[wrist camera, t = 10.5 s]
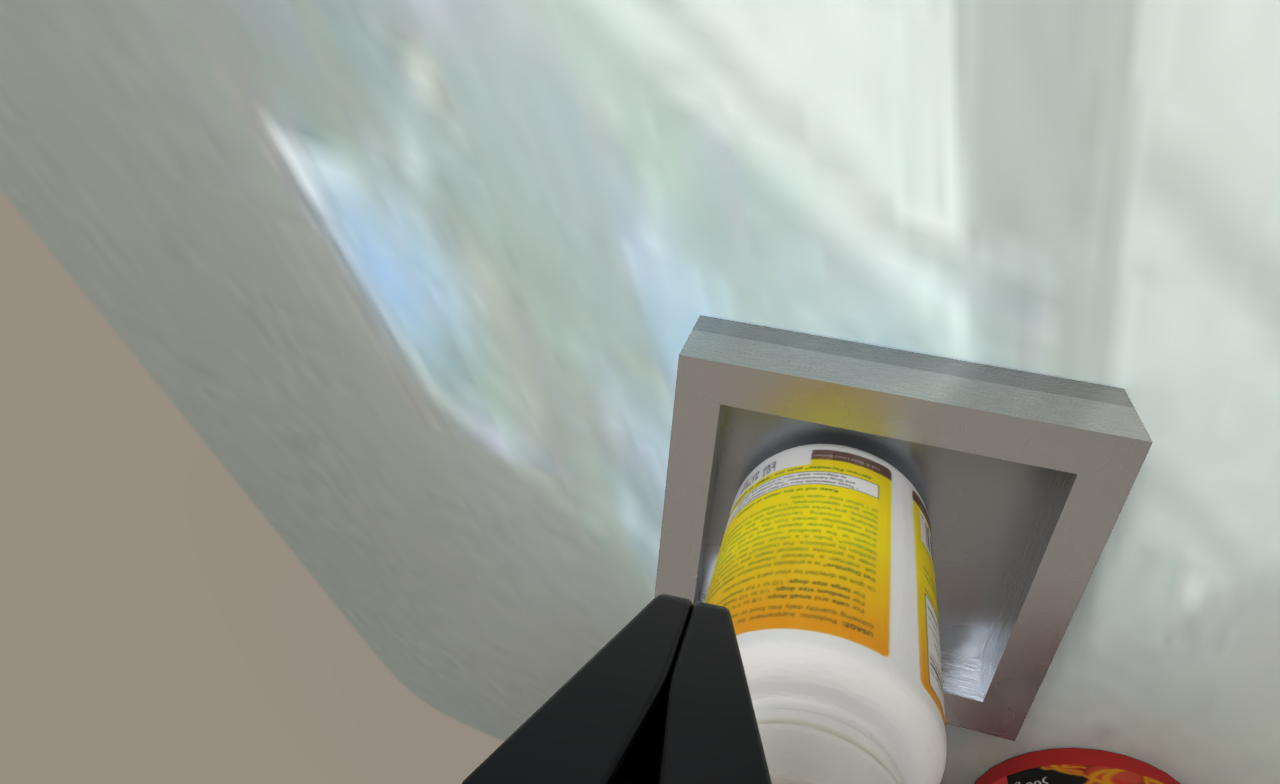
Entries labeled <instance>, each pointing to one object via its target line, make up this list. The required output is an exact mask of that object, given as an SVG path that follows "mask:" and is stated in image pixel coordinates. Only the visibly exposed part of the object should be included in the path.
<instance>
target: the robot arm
mask: <svg viewBox="0 0 1280 784" xmlns="http://www.w3.org/2000/svg"><path fill="white" fill-rule="evenodd" d="M462 784H772V782H771V777H770V773H769V769H768V765H767V761H766V757H765V753H764V749H763V745H762V740H761V736H760V732H759V728H758V724H757V720H756V716H755V712H754V708H753V703H752V699H751V695H750V691H749V687H748V683H747V679H746V675H745V671H744V666H743V662H742V658H741V654H740V650H739V646H738V642H737V638H736V633H735V629H734V625H733V621H732V617H731V613H730V611H729V610H728V609H727V608H726V607H723V606H719V605H714V604H709V603H705V602H697V603H695V604H694V606H693V603H692V601H691V600H689V599H686V598H681V597H676V596H672V595H667V594H660V595H658V596H657V597H656V598H654V599H653V600H652V601H651V602H650V603H649V604H648V605H647V606H646V607H645V608H644V609H643V610H642V611H641V612H640V613H639V614H638V615H637V616H636V617H634V618H633V619H632V620H631V621H630V622H629V623H628V624H627V625H626V626H625V627H624V628H623V629H622V630H621V631H620V632H619V633H618V634H617V635H616V636H615V637H614V638H613V639H611V640H610V641H609V642H608V643H607V644H606V645H605V646H604V647H603V648H602V649H601V650H600V651H599V652H598V653H597V654H596V655H595V656H594V657H593V658H592V659H591V660H589V661H588V662H587V663H586V664H585V665H584V666H583V667H582V668H581V669H580V670H579V671H578V672H577V673H576V674H575V675H574V676H573V677H572V678H571V679H570V680H569V681H568V682H566V683H565V684H564V685H563V686H562V687H561V688H560V689H559V690H558V691H557V692H556V693H555V694H554V695H553V696H552V697H551V698H550V699H549V700H548V701H547V702H546V703H544V704H543V705H542V706H541V707H540V708H539V709H538V710H537V711H536V712H535V713H534V714H533V715H532V716H531V717H530V718H529V719H528V720H527V721H526V722H525V723H524V724H522V725H521V726H520V727H519V728H518V729H517V730H516V731H515V732H514V733H513V734H512V735H511V736H510V737H509V738H508V739H507V740H506V741H505V742H504V743H503V744H502V745H501V746H500V747H498V748H497V749H496V750H495V751H494V752H493V753H492V754H491V755H490V756H489V757H488V758H487V759H486V760H485V761H484V762H483V763H482V764H481V765H480V766H479V767H477V768H476V769H475V771H473V772H472V773H471V774H470V775H469V776H468V777H467V778H466V779H465V780H464V781H463V782H462Z"/></svg>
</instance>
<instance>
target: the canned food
mask: <svg viewBox="0 0 1280 784" xmlns="http://www.w3.org/2000/svg"><path fill="white" fill-rule="evenodd" d="M975 784H1180V783H1179V782H1178V781H1176V780H1175V779H1174V778H1172V777H1171V776H1170V775H1168V774H1167V773H1165V772H1163V771H1161V770H1159V769H1157V768H1155V767H1153V766H1152V765H1150V764H1148V763H1145V762H1142V761H1140V760H1137V759H1134V758H1131V757H1128V756H1125V755H1121V754H1116V753H1111V752H1106V751H1101V750H1093V749H1080V748H1063V749H1048V750H1043V751H1037V752H1031V753H1027V754H1024V755H1021V756H1018V757H1015V758H1011V759H1008V760H1006V761H1004V762H1002V763H1001V764H999V765H997V766H995V767H993V768H991V769H990V770H989V771H987V772H986V773H985V774H984V775H983V776H981V777H980V778H979V779H978V780H977V781H976V783H975Z"/></svg>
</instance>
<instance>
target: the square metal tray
mask: <svg viewBox="0 0 1280 784" xmlns="http://www.w3.org/2000/svg"><path fill="white" fill-rule="evenodd" d="M809 444H836V445H843V446H848V447H852V448H856V449H859V450H862V451H865V452H868V453H870V454H873V455H875V456H877V457H879V458H881V459H883V460H884V461H886V462H887V463H889V464H890V465H892V466H893V467H895V468H896V469H897V470H898V471H900V472H901V473H902V474H903V475H904V476H905V477H906V478H907V479H908V480H909V481H910V482H911V483H912V485H913V486H914V487H915V489H916V490H917V492H918V493H919V495H920V496H921V498H922V500H923V502H924V504H925V507H926V509H927V512H928V515H929V519H930V525H931V533H932V543H933V555H934V569H935V582H936V596H937V609H938V624H939V637H940V653H941V666H942V681H943V696H944V710H945V723H948V724H952V725H956V726H960V727H964V728H967V729H971V730H975V731H979V732H983V733H986V734H990V735H994V736H998V737H1002V738H1005V739H1009V740H1013V741H1015V739H1016V737H1017V735H1018V732H1019V730H1020V728H1021V726H1022V724H1023V722H1024V720H1025V717H1026V715H1027V713H1028V711H1029V709H1030V707H1031V704H1032V702H1033V700H1034V698H1035V696H1036V694H1037V691H1038V689H1039V687H1040V685H1041V683H1042V681H1043V678H1044V676H1045V674H1046V672H1047V670H1048V668H1049V665H1050V663H1051V661H1052V659H1053V657H1054V655H1055V652H1056V650H1057V648H1058V646H1059V644H1060V642H1061V639H1062V637H1063V635H1064V633H1065V631H1066V629H1067V626H1068V624H1069V622H1070V620H1071V618H1072V616H1073V613H1074V611H1075V609H1076V607H1077V605H1078V603H1079V600H1080V598H1081V596H1082V594H1083V592H1084V590H1085V587H1086V585H1087V583H1088V581H1089V579H1090V577H1091V574H1092V572H1093V570H1094V568H1095V566H1096V564H1097V561H1098V559H1099V557H1100V555H1101V553H1102V551H1103V548H1104V546H1105V544H1106V542H1107V540H1108V538H1109V535H1110V533H1111V531H1112V529H1113V527H1114V525H1115V522H1116V520H1117V518H1118V516H1119V514H1120V512H1121V509H1122V507H1123V505H1124V503H1125V501H1126V499H1127V496H1128V494H1129V492H1130V490H1131V488H1132V486H1133V483H1134V481H1135V479H1136V477H1137V475H1138V473H1139V470H1140V468H1141V466H1142V464H1143V462H1144V460H1145V457H1146V455H1147V453H1148V451H1149V449H1150V447H1151V444H1152V440H1151V438H1150V436H1149V434H1148V433H1147V431H1146V429H1145V427H1144V425H1143V423H1142V421H1141V419H1140V418H1139V416H1138V414H1137V412H1136V410H1135V408H1134V406H1133V404H1132V403H1131V401H1130V399H1129V397H1128V395H1127V393H1126V391H1125V389H1121V388H1115V387H1109V386H1104V385H1098V384H1092V383H1086V382H1081V381H1075V380H1069V379H1063V378H1057V377H1052V376H1046V375H1040V374H1034V373H1029V372H1023V371H1017V370H1011V369H1006V368H1000V367H994V366H988V365H982V364H977V363H971V362H965V361H959V360H954V359H948V358H942V357H936V356H931V355H925V354H919V353H913V352H907V351H902V350H896V349H890V348H884V347H879V346H873V345H867V344H861V343H856V342H850V341H844V340H838V339H832V338H827V337H821V336H815V335H809V334H804V333H798V332H792V331H786V330H781V329H775V328H769V327H763V326H757V325H752V324H746V323H740V322H734V321H729V320H723V319H717V318H711V317H706V316H700V317H699V319H698V321H697V322H696V324H695V326H694V328H693V330H692V332H691V334H690V336H689V337H688V339H687V341H686V343H685V345H684V347H683V349H682V350H681V352H680V354H679V361H678V371H677V381H676V391H675V401H674V411H673V421H672V431H671V441H670V450H669V460H668V470H667V480H666V490H665V500H664V510H663V520H662V530H661V540H660V550H659V559H658V569H657V579H656V589H655V598H656V597H657V596H658V595H660V594H667V595H672V596H676V597H681V598H686V599H689V600H691V601H692V603H693V606H694V604H695V603H697V602H705V599H706V596H707V592H708V589H709V585H710V582H711V578H712V575H713V572H714V568H715V564H716V561H717V557H718V554H719V551H720V547H721V544H722V540H723V537H724V533H725V530H726V526H727V523H728V519H729V516H730V511H731V508H732V505H733V502H734V500H735V497H736V494H737V492H738V490H739V488H740V486H741V485H742V483H743V482H744V480H745V479H746V478H747V476H748V475H749V474H750V473H751V472H752V471H753V470H754V469H755V468H756V467H757V466H758V465H760V464H761V463H762V462H763V461H765V460H766V459H768V458H770V457H772V456H773V455H775V454H777V453H780V452H782V451H784V450H787V449H790V448H794V447H798V446H803V445H809Z"/></svg>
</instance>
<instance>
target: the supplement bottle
mask: <svg viewBox="0 0 1280 784" xmlns="http://www.w3.org/2000/svg"><path fill="white" fill-rule="evenodd" d="M705 603H709V604H714V605H719V606H723V607H726V608H727V609H728V610H729V611H730V613H731V617H732V621H733V625H734V629H735V633H736V638H737V642H738V646H739V650H740V654H741V658H742V662H743V666H744V671H745V675H746V679H747V683H748V687H749V691H750V695H751V699H752V703H753V708H754V712H755V716H756V720H757V724H758V728H759V732H760V736H761V740H762V745H763V749H764V753H765V757H766V761H767V765H768V769H769V773H770V777H771V782H772V784H940V782H941V780H942V777H943V774H944V770H945V765H946V756H947V749H946V746H947V738H946V724H945V710H944V696H943V681H942V666H941V653H940V637H939V624H938V609H937V596H936V582H935V569H934V555H933V543H932V533H931V525H930V519H929V515H928V512H927V509H926V507H925V504H924V502H923V500H922V498H921V496H920V495H919V493H918V492H917V490H916V489H915V487H914V486H913V485H912V483H911V482H910V481H909V480H908V479H907V478H906V477H905V476H904V475H903V474H902V473H901V472H900V471H898V470H897V469H896V468H895V467H893V466H892V465H890V464H889V463H887V462H886V461H884V460H883V459H881V458H879V457H877V456H875V455H873V454H870V453H868V452H865V451H862V450H859V449H856V448H852V447H848V446H843V445H836V444H809V445H803V446H798V447H794V448H790V449H787V450H784V451H782V452H780V453H777V454H775V455H773V456H772V457H770V458H768V459H766V460H765V461H763V462H762V463H761V464H760V465H758V466H757V467H756V468H755V469H754V470H753V471H752V472H751V473H750V474H749V475H748V476H747V478H746V479H745V480H744V482H743V483H742V485H741V486H740V488H739V490H738V492H737V494H736V497H735V500H734V502H733V505H732V508H731V511H730V516H729V519H728V523H727V526H726V530H725V533H724V537H723V540H722V544H721V547H720V551H719V554H718V557H717V561H716V564H715V568H714V572H713V575H712V578H711V582H710V585H709V589H708V592H707V596H706V599H705Z"/></svg>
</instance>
